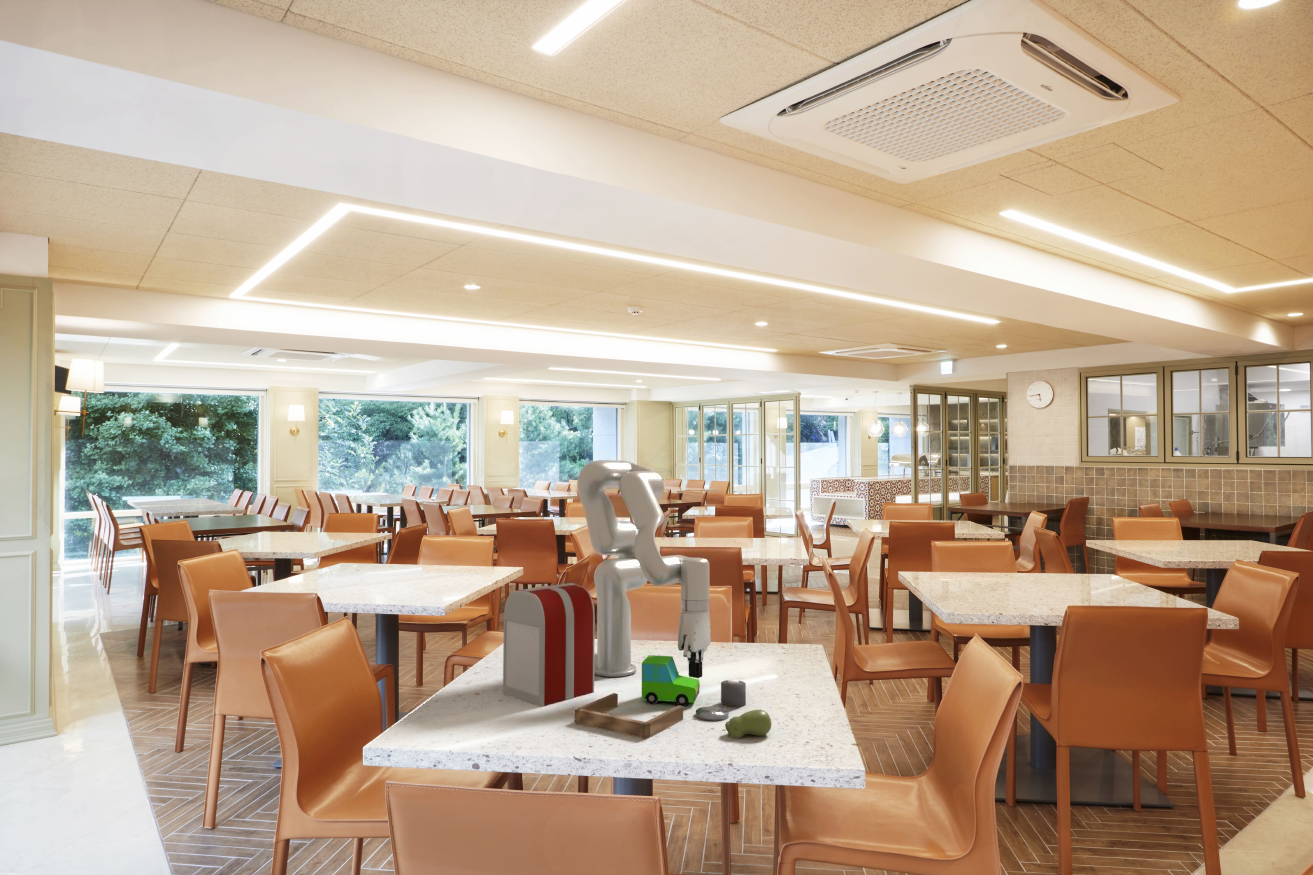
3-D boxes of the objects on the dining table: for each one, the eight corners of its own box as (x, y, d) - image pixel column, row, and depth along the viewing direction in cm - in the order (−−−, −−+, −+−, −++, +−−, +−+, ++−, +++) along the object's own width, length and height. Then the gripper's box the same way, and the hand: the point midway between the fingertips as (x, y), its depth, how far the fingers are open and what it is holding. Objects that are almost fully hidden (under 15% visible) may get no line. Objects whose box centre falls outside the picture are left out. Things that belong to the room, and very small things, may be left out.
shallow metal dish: (689, 717, 177) (689, 712, 177) (705, 708, 183) (705, 704, 183) (719, 722, 173) (719, 718, 173) (734, 713, 179) (734, 709, 179)
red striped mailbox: (596, 692, 197) (596, 586, 198) (541, 707, 184) (542, 593, 186) (554, 680, 208) (555, 579, 210) (500, 693, 196) (502, 586, 197)
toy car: (694, 709, 183) (694, 666, 184) (640, 705, 186) (640, 663, 187) (701, 696, 193) (701, 656, 194) (649, 693, 196) (649, 654, 197)
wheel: (716, 705, 186) (716, 681, 187) (727, 698, 192) (727, 676, 192) (739, 709, 183) (738, 685, 184) (749, 702, 188) (749, 679, 189)
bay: (574, 722, 173) (574, 709, 173) (613, 705, 186) (613, 692, 186) (647, 738, 162) (647, 724, 163) (683, 719, 175) (683, 706, 175)
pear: (772, 712, 163) (726, 721, 162) (776, 736, 163) (730, 746, 162) (765, 703, 169) (721, 713, 167) (769, 727, 169) (725, 737, 167)
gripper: (696, 600, 209) (696, 668, 208) (668, 608, 197) (668, 681, 196) (721, 602, 205) (721, 672, 204) (693, 611, 193) (694, 685, 192)
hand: (695, 676), depth 200 cm, fingers closed
